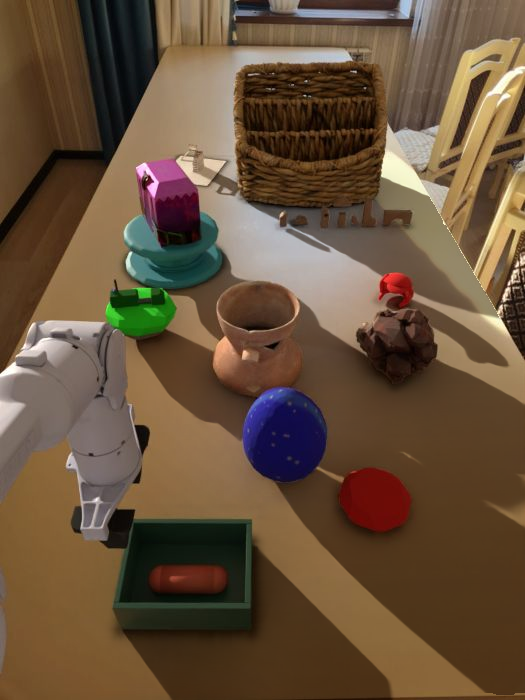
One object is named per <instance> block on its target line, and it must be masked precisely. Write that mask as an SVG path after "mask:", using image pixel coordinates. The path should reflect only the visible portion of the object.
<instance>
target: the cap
mask: <svg viewBox="0 0 525 700" xmlns="http://www.w3.org/2000/svg"><path fill="white" fill-rule="evenodd" d="M378 286H379V287H378V288H379V296H378V297H377V299H378V301H381V300H382V299H383V297H384V296H385V295H386V294H389V293H391V294H395V295H401V296H402V297H403V300H402V301H401V302H400V303H398V307H399V308H402V307H406V305H408V304H410V302H411V300H412V299H413V297H414V289H413V282H412V280H411V279H410V277H409V276H408V275H407V274H404V273H402V272H391V273H386V274H384V276H383V277H381V279H380V280H379V284H378Z"/></svg>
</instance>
